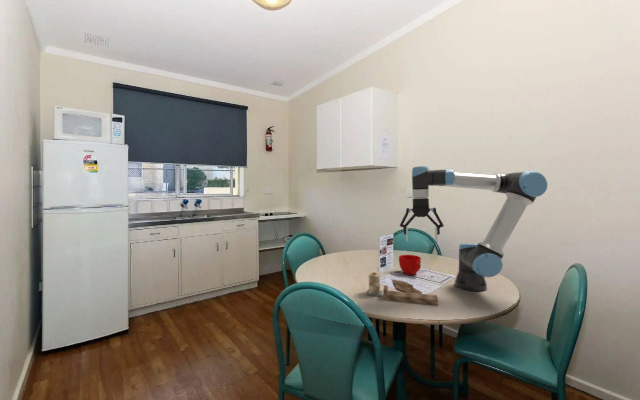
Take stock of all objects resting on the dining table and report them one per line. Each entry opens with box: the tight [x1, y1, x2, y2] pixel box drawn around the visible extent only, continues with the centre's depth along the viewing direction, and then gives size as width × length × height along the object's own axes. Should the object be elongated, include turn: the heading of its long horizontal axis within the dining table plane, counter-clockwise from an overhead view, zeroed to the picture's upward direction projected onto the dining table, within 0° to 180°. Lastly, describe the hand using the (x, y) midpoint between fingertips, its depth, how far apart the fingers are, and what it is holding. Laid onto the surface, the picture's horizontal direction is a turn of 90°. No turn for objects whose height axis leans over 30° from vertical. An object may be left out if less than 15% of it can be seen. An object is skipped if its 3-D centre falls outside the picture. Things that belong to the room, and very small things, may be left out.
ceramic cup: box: [398, 254, 422, 276], centre depth 176 cm, size 13×17×10 cm
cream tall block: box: [368, 271, 381, 295], centre depth 144 cm, size 5×5×10 cm
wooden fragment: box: [391, 278, 423, 294], centre depth 154 cm, size 26×11×1 cm, turn 8°
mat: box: [365, 288, 383, 298], centre depth 144 cm, size 7×7×1 cm
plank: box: [382, 285, 439, 306], centre depth 136 cm, size 24×6×5 cm, turn 73°
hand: (421, 241), depth 142 cm, fingers open, 13 cm apart
